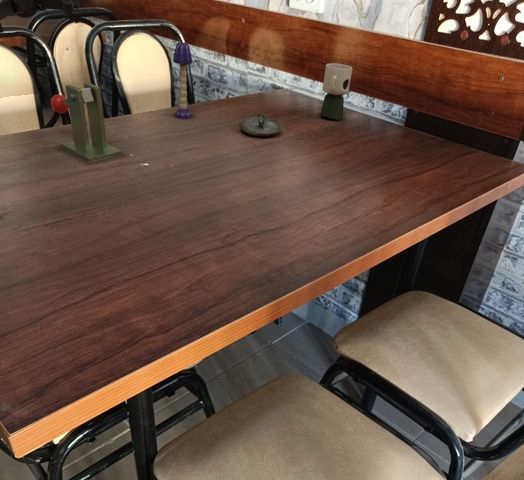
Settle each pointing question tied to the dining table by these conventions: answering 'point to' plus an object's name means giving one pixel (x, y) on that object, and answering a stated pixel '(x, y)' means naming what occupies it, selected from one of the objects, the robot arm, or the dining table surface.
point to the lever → (61, 102)
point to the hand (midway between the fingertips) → (35, 18)
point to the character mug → (335, 89)
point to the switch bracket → (82, 143)
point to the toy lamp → (183, 76)
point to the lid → (260, 126)
